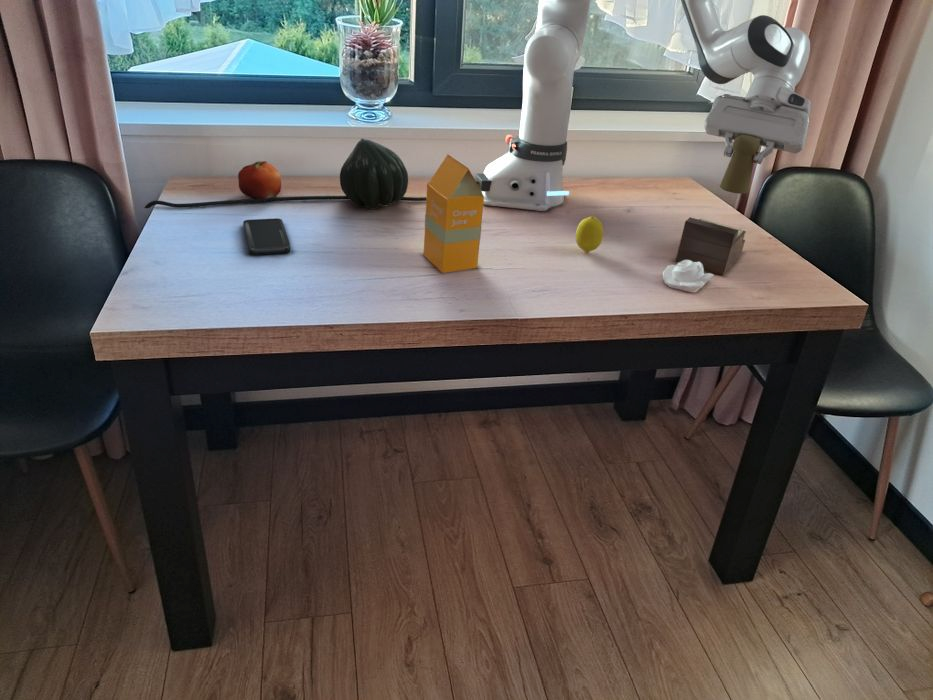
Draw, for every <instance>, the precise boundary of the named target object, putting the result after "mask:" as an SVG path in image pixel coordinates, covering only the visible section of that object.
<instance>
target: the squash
mask: <svg viewBox="0 0 933 700" xmlns="http://www.w3.org/2000/svg"><path fill="white" fill-rule="evenodd" d="M339 184H340V187H341V190H342V192H343V194H344V196H347V197H348V198H349V199H348V200H350V201H351V203H352V204H353V205H355V206H356V207H359V208H367V209H368V210H376V209H378V208H379V207H380V206H383V207H386V206H390V204H395V203H397V202H399V201H401V200H400V199H402V198H403V197H405V195H406V193H407V190H408V186H409V173H408V170H407V168H406V166H405V163H404V162H403V160H402V159H401V157H400V156H399V155H398V154H396V152H395V151H393V150H391V149H390V148H388V147H386V146H384V145H382V144H380V143H378V142H376V141H373V140H371V139H367V138H360V140H359V141H358V142H357V143H356V145H355V146H354V148H353V149H352V151H351V152H350V154H349V156H348V157H347V158H346V160H345V161H344V163H343V165H342V166H341V169H340V173H339Z"/></svg>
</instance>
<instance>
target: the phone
mask: <svg viewBox="0 0 933 700" xmlns="http://www.w3.org/2000/svg"><path fill="white" fill-rule="evenodd" d="M242 223H243V231H244V235H245V236H244V237H245V240H246V241H245V242H246V246H247V251H248V254H249V255H250V256H261V255H274V254H275V255H277V254H288V253H290V252H291V244H290V240H289V236H288V233H287V230H286V228H285V224H284V221H283V219H282V218H257V219H256V218H255V219H253V218H252V219H245V220H243V222H242Z"/></svg>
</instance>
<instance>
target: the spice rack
mask: <svg viewBox="0 0 933 700" xmlns="http://www.w3.org/2000/svg"><path fill="white" fill-rule="evenodd" d="M745 236H746V230H744V229H742V228H738V227H734V226H731V225H727V224H723V223H719V222H716V221H712V220H708V219H704V218H695V217H690V216H689V217H688V218H687V219H686V220H685V221H684V225H683V228H682V234H681V237H680V241H679V245H678V250H677V253H676V257H675V263H677V264H678V263H679V262H681V261H683V260H691V261H692V262H701V263H702V265H703V268H704V272H707V273H711V274H715V275H718V276H724V275H725V274H726V273H727V272H728V270H729V269H730V268H731V267H732V265H733V264H734V263H735V262H736V261H737V259H738V258H739V257H740V255H741V254H742V253H743V250H744V246H745V243H746V239H744V238H745Z"/></svg>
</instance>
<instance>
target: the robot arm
mask: <svg viewBox="0 0 933 700" xmlns="http://www.w3.org/2000/svg"><path fill="white" fill-rule="evenodd" d="M680 2H681V5H682V9H683V11H684V15H685V17H686V20H687V23H688V26H689V30H690V32H691V34H692V38H693V42H694V44H695V48H696V53H697V59H698V60H697V61H698V65H699V68H700V71H701V73H702V74H703V76H704V77H705V78H707V80H709V81H710V82H712V83H714V84H717V85H725V84H728V83H730V82H732V81H734V80H735V79H737V78H740V77H741V76H743V75H746V74H748V73H750V74H752V75H753V80H752V82H751V84H750V87H749V89H748V91H747V93H746V95H745V96H744V97H743V96H739V95H731V94H730V93H729V94H728V93H724V94H723V95H719V96H716V97H715V98H714V100H713V102H712V104H711V109H710V111H709V113H708V114H707V116H706V118H705V120H704V123H703V124H704V132H705V133H706V134H707V135H710V136H715V137H719V138H723V139H724V144H725V149H724V150H723V156H724V157H728V158H731V157H732V155H733V153H734V149H733V145H731V144H732V143H733V142H734V140H735V138H736V137H738V136H740V135H749V136H753V137H756V138H757V139H758V140H759V141H760V147H765V148H764V149H763V150H762V151H758V152H757V153H756V154H755V155H754V161H753V164H757V165H761V164H762V163H763V161H764V159H765V158H766V157H768V156H769V155H770V154H772V153H773V152H774V150H779V151H783V152H786V153H787V152H788V153H792V154H798V153H800V152H801V151H803V149H804V146H805V143H806V139H807V134H808V129H809V123H810V114H811V108H812V107H811V106H812V103H811V100H810V99H808V98H806V97H805V96H802V95H801V94H799V93H796V92H795V91H796V86H797V85H798V84H799V83H800V81H801V79H802V77H803V76H804V73H805V70H806V68H807V65H808V61H809V59H810V54H811V41H810V40H811V39H810V37H809V36H808V35H807V33H806V32H805V31H803V30H802V29H799V28H797V27H792V26H789V27H788V26H787V27H785V26H783V25H782V24H781V23H780V22H778V21H777V19H775V18H774V17H772V16H769V15H766V14H763V15H757V16H756V17H755V16H754V17H753V18H751V19H748V20H746V21H744V22H741V23H739V24H738V25H737V26H735V27H733V28H731V29H728V30H724V29H723V28H722V26H721V24H720V20H719V18H718V14H717V11H716V8H715V5H714V2H713V0H680ZM590 5H591V0H538V7H537V8H538V9H537V17H536V25H535V31H534V34H532V36H531V37H530V38H529V39H528V41H527V43H526V45H525V48H524V54H523V71H522V72H523V73H522V105H521V113H520V123H519V132H518V135H517V136H515V137H514V135H512V134H507V135H506V136H505V138H504V139H505V142H506V144H507V145H508V151H507V152H506V153H505V154H503V155H501V156H500V157H498V158H496V159H495V160H493V161H492V162H490V163H489V164H487V166H486V167H485V169H484V171H483V173H475V175H474V177H475V178H474V179H475V181H476V183H477V184H478V186H479V188H480V189H481V191H482V193H483V195H484V196H485V197H484V202H483V206H491V207H499V208H500V207H501V208H510V209H520V210H529V211H540V212H545V211H547V210H549V209H550V208H552V207H557V206H559V205H561V204H563V203H564V201H565V196H569V195H570V191H569V190H564V184H563V178H564V177H563V173H564V166H565V163H566V159H567V153H568V152H567V151H568V141H567V136H568V129H569V123H570V115H571V109H572V93H573V85H574V75H575V68H576V64H577V63H578V61H579V60H580V58H581V55H582V51H583V46H584V40H585V35H586V30H587V29H586V28H587V23H588V19H589V12H590ZM426 199H427V196H403V198H402V199H400V200H399V201H406V202H407V201H409V202H426ZM316 200H317V201H319V200H321V201H322V200H323V201H324V200H325V201H327V200H350V199H349V198H348V197H347V196H346V195H302V196H276V197H274V198H267V199H254V198H244V199H241V198H240V199H228V200H227V199H226V200H215V201H203V202H202V201H201V202H191V203H189V202H188V203H173V202H169V201H164V200H152V201H150V202H148V203H147V204H146V205H145V206H144V207H143V208H144V209H150V208H151V207H153V206H156V205H161V206H166V207H169V208H175V209H176V208H177V209H178V208H179V209H180V208H181V209H182V208H197V207H209V206H223V205H239V204H251V203H266V202H267V203H269V202H289V201H316Z"/></svg>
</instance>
